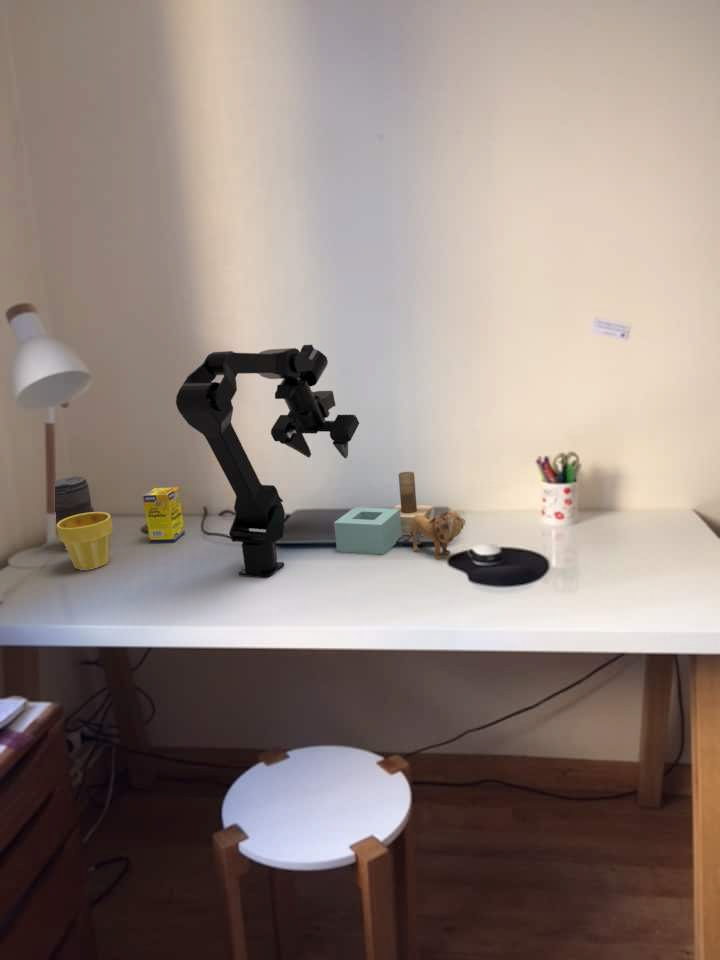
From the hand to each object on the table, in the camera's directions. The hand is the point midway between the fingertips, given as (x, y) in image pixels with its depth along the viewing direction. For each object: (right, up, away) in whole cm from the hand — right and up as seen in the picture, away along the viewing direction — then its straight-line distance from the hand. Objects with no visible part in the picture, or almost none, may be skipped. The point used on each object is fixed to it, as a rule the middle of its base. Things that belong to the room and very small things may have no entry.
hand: (327, 456), depth 159 cm
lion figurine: (+21, -19, -19) cm, 34 cm away
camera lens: (-55, -20, +5) cm, 59 cm away
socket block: (+9, -18, -11) cm, 23 cm away
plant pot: (-48, -23, -8) cm, 53 cm away
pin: (+17, -12, -6) cm, 21 cm away
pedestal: (+17, -15, -5) cm, 24 cm away
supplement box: (-36, -18, +4) cm, 40 cm away
